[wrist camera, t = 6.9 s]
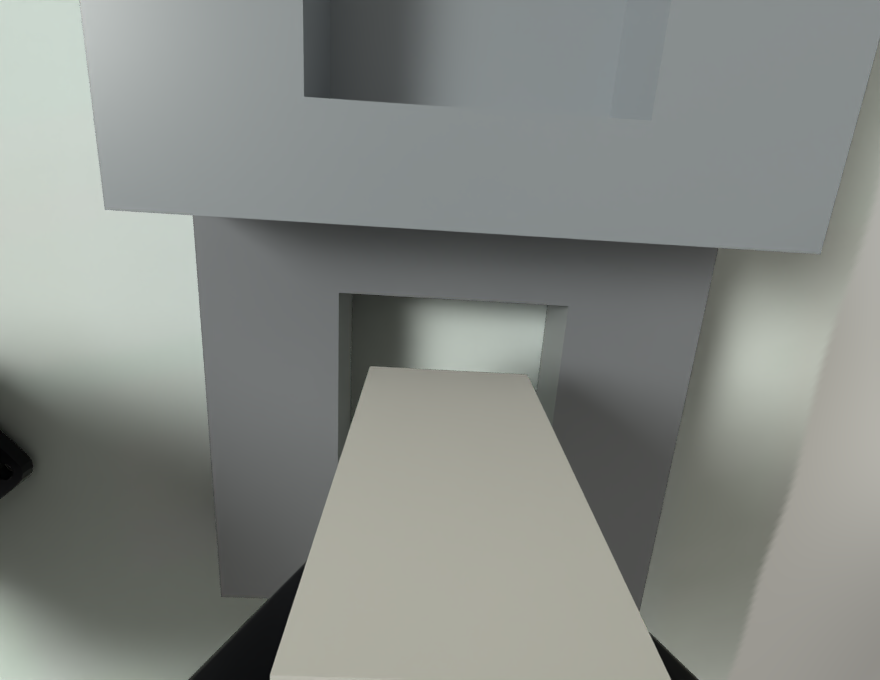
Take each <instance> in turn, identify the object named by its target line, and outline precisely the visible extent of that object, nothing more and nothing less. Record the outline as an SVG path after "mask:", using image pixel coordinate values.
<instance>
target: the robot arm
mask: <svg viewBox="0 0 880 680" xmlns="http://www.w3.org/2000/svg"><path fill="white" fill-rule="evenodd" d="M5 464H7V465H8V466H10V467H11V469H12V470H13V471H11V470H10V469H8V468H7V466H6V465H5ZM32 472H33V463H32V460H31V459H30V457H29V456H28V455H27V454H26V453H25V452H24V451H23V450H22V449H21V448H20V447H19V446H17V445H16V444H15V443H14V442H13V441H12V440H11V439H10V438H9V437H7V436H6V435H5V434H4V433H3V432H2V431H1V430H0V499H1V498H2V497H3V496H5V495H6V494H7V493H9V492H10V491H11V490H12V489H14V488H15V487H16V486H18V485H19V484H20V483H21V482H23V481H24V480H25V479H27V478H28V477H29V476H30V475H31V473H32ZM306 562H307V561H306ZM306 562H305V563H304V564H303V565H302V566H301V567H300V568H299V569H298V570H297V571H296V572H295V573H294V574H293V575H292V576H291V577H290V578H289V579H288V580H287V581H286V582H285V583H284V584H283V585H282V586H281V587H280V588H279V589H278V590H277V591H276V592H275V593H274V594H273V595H272V596H271V597H270V598H269V599H268V600H267V601H266V602H265V603H264V604H263V605H262V606H261V607H260V608H259V609H258V610H257V611H256V612H255V613H254V614H253V615H252V616H251V617H250V618H249V619H248V620H247V621H246V622H245V623H244V624H243V625H242V626H241V627H240V628H239V629H238V630H237V631H236V632H235V633H234V634H233V635H232V636H231V637H230V638H229V639H228V640H227V641H226V642H225V643H224V644H223V645H222V646H221V647H220V648H219V649H218V650H217V651H216V652H215V653H214V654H213V655H212V656H211V657H210V658H209V659H208V660H207V661H206V662H205V663H204V664H203V665H202V666H201V667H200V668H199V669H198V670H197V671H196V672H195V673H194V674H193V675H192V676H191V677H190V678H189V679H188V680H270V673H271V670H272V667H273V664H274V661H275V658H276V654H277V651H278V648H279V645H280V642H281V639H282V636H283V633H284V630H285V627H286V624H287V621H288V617H289V614H290V611H291V608H292V605H293V602H294V599H295V596H296V593H297V590H298V587H299V584H300V580H301V577H302V574H303V571H304V568H305V565H306ZM648 632H649V631H648ZM649 634H650V636H651V638H652V640H653V642H654V645H655V647H656V649H657V651H658V653H659V655H660V657H661V659H662V662H663V664H664V666H665V668H666V670H667V672H668V674H669V676H670V679H671V680H698V679H697V678H696V677H695V676H694V675H693V674H692V673H691V672H690V671H689V670H688V669H687V668H686V667H685V666H684V665H683V664H682V663H681V662H680V661H679V660H678V659H677V658H676V657H674V656H673V655H672V654H671V653H670V652H669V651H668V650H667V649H666V648H665V647H664V646H663V645H662V644H661V643H660V642H659V641H658V640H657V639H656V638H655V637H654V636H653V635H652V634H651V633H650V632H649Z"/></svg>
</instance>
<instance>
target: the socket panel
mask: <svg viewBox="0 0 880 680" xmlns="http://www.w3.org/2000/svg"><path fill="white" fill-rule="evenodd" d="M79 2H80V10H81V18H82V26H83V35H84V43H85V51H86V59H87V67H88V75H89V84H90V92H91V100H92V108H93V116H94V124H95V133H96V141H97V149H98V157H99V165H100V173H101V182H102V190H103V198H104V206H105V210H116V211H132V212H149V213H165V214H181V215H193V224H194V237H195V251H196V264H197V277H198V291H199V304H200V318H201V331H202V344H203V358H204V371H205V384H206V398H207V411H208V425H209V438H210V451H211V465H212V478H213V492H214V505H215V518H216V532H217V545H218V558H219V572H220V585H221V597H245V598H270V597H271V596H272V595H273V594H274V593H275V592H276V591H277V590H278V589H279V588H280V587H281V586H282V585H283V584H284V583H285V582H286V581H287V580H288V579H289V578H290V577H291V576H292V575H293V574H294V573H295V572H296V571H297V570H298V569H299V568H300V567H301V566H302V565H303V564H304V563H305V562H306V561H307V559H308V556H309V553H310V550H311V547H312V543H313V540H314V537H315V534H316V531H317V528H318V525H319V522H320V519H321V516H322V513H323V510H324V506H325V503H326V500H327V497H328V494H329V491H330V488H331V485H332V482H333V479H334V476H335V473H336V469H337V466H338V463H339V460H340V457H341V454H342V451H343V448H344V445H345V442H346V439H347V436H348V432H349V429H350V418H351V342H352V294H369V295H386V296H403V297H420V298H438V299H455V300H472V301H489V302H506V303H523V304H540V305H547V313H546V321H545V329H544V337H543V344H542V352H541V360H540V368H539V376H538V384H537V392H536V394H537V396H538V398H539V401H540V403H541V405H542V407H543V409H544V411H545V413H546V415H547V417H548V420H549V422H550V424H551V426H552V428H553V430H554V432H555V434H556V437H557V439H558V441H559V443H560V445H561V447H562V449H563V451H564V454H565V456H566V458H567V460H568V462H569V464H570V466H571V468H572V471H573V473H574V475H575V477H576V479H577V481H578V483H579V485H580V488H581V490H582V492H583V494H584V496H585V498H586V500H587V502H588V504H589V507H590V509H591V511H592V513H593V515H594V517H595V519H596V521H597V524H598V526H599V528H600V530H601V532H602V534H603V536H604V538H605V541H606V543H607V545H608V547H609V549H610V551H611V553H612V555H613V558H614V560H615V562H616V564H617V566H618V568H619V570H620V572H621V575H622V577H623V579H624V581H625V583H626V585H627V587H628V589H629V592H630V594H631V596H632V598H633V600H634V602H635V604H636V606H637V608H638V611H640V606H641V602H642V597H643V592H644V588H645V583H646V579H647V574H648V569H649V565H650V560H651V556H652V551H653V546H654V542H655V537H656V533H657V528H658V523H659V519H660V514H661V510H662V505H663V500H664V496H665V491H666V487H667V482H668V477H669V473H670V468H671V463H672V459H673V454H674V450H675V445H676V440H677V436H678V431H679V427H680V422H681V417H682V413H683V408H684V404H685V399H686V394H687V390H688V385H689V381H690V376H691V371H692V367H693V362H694V357H695V353H696V348H697V344H698V339H699V334H700V330H701V325H702V321H703V316H704V311H705V307H706V302H707V298H708V293H709V288H710V284H711V279H712V275H713V270H714V265H715V261H716V256H717V251H718V248H729V249H745V250H761V251H777V252H793V253H809V254H821V250H822V247H823V243H824V239H825V236H826V232H827V229H828V225H829V221H830V218H831V214H832V210H833V207H834V203H835V199H836V196H837V192H838V189H839V185H840V181H841V178H842V174H843V170H844V167H845V163H846V159H847V156H848V152H849V149H850V145H851V141H852V138H853V134H854V130H855V127H856V123H857V119H858V116H859V112H860V109H861V105H862V101H863V98H864V94H865V90H866V87H867V83H868V79H869V76H870V72H871V69H872V65H873V61H874V58H875V54H876V50H877V47H878V43H879V39H880V0H79Z"/></svg>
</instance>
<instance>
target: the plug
mask: <svg viewBox="0 0 880 680" xmlns="http://www.w3.org/2000/svg"><path fill="white" fill-rule="evenodd" d="M270 680H671V679H670V676H669V674H668V672H667V670H666V668H665V666H664V664H663V662H662V659H661V657H660V655H659V653H658V651H657V649H656V647H655V645H654V642H653V640H652V638H651V636H650V634H649V632H648V630H647V628H646V625H645V623H644V621H643V619H642V617H641V615H640V613H639V611H638V608H637V606H636V604H635V602H634V600H633V598H632V596H631V594H630V592H629V589H628V587H627V585H626V583H625V581H624V579H623V577H622V575H621V572H620V570H619V568H618V566H617V564H616V562H615V560H614V558H613V555H612V553H611V551H610V549H609V547H608V545H607V543H606V541H605V538H604V536H603V534H602V532H601V530H600V528H599V526H598V524H597V521H596V519H595V517H594V515H593V513H592V511H591V509H590V507H589V504H588V502H587V500H586V498H585V496H584V494H583V492H582V490H581V488H580V485H579V483H578V481H577V479H576V477H575V475H574V473H573V471H572V468H571V466H570V464H569V462H568V460H567V458H566V456H565V454H564V451H563V449H562V447H561V445H560V443H559V441H558V439H557V437H556V434H555V432H554V430H553V428H552V426H551V424H550V422H549V420H548V417H547V415H546V413H545V411H544V409H543V407H542V405H541V403H540V401H539V398H538V396H537V394H536V392H535V390H534V388H533V386H532V384H531V381H530V379H529V377H528V375H526V374H507V373H488V372H470V371H451V370H432V369H414V368H395V367H376V366H370V368H369V371H368V374H367V377H366V380H365V383H364V386H363V389H362V392H361V396H360V399H359V402H358V405H357V408H356V411H355V414H354V417H353V420H352V423H351V426H350V429H349V432H348V436H347V439H346V442H345V445H344V448H343V451H342V454H341V457H340V460H339V463H338V466H337V469H336V473H335V476H334V479H333V482H332V485H331V488H330V491H329V494H328V497H327V500H326V503H325V506H324V510H323V513H322V516H321V519H320V522H319V525H318V528H317V531H316V534H315V537H314V540H313V543H312V547H311V550H310V553H309V556H308V559H307V562H306V565H305V568H304V571H303V574H302V577H301V580H300V584H299V587H298V590H297V593H296V596H295V599H294V602H293V605H292V608H291V611H290V614H289V617H288V621H287V624H286V627H285V630H284V633H283V636H282V639H281V642H280V645H279V648H278V651H277V654H276V658H275V661H274V664H273V667H272V670H271V673H270Z"/></svg>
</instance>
